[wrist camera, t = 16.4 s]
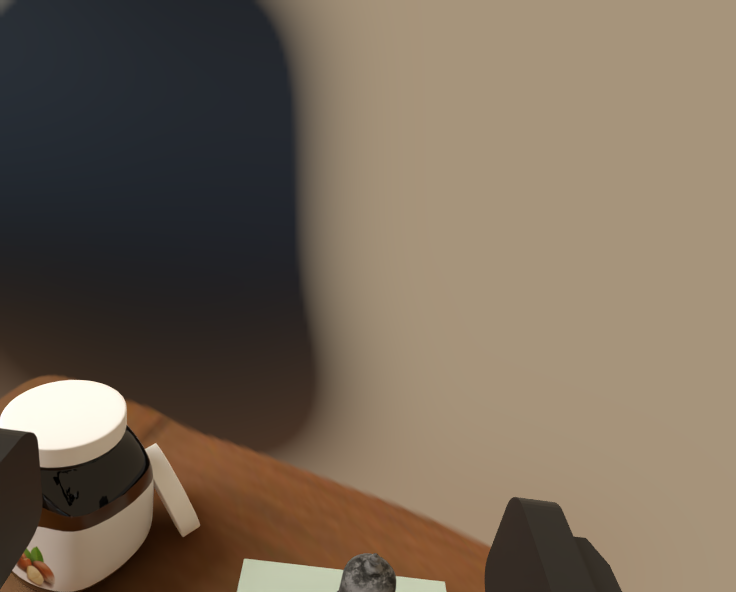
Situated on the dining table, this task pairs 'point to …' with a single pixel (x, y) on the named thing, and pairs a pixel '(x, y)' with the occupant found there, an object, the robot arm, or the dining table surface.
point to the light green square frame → (311, 579)
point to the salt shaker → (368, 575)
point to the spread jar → (90, 485)
